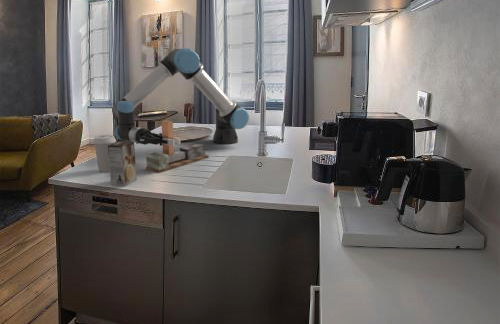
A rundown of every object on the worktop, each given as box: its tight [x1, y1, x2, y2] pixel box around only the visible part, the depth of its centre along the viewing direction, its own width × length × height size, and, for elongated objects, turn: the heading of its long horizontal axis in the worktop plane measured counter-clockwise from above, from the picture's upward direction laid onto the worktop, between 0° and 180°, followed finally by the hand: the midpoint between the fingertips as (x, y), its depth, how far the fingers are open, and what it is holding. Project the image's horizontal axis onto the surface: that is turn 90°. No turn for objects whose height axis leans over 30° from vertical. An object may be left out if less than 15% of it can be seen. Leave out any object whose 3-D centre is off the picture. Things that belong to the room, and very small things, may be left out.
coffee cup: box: [92, 134, 117, 173], centre depth 164 cm, size 10×10×15 cm
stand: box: [145, 143, 210, 174], centre depth 178 cm, size 33×9×7 cm, turn 146°
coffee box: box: [108, 140, 138, 187], centre depth 148 cm, size 9×6×16 cm
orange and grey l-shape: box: [161, 119, 187, 163], centre depth 173 cm, size 20×4×19 cm, turn 146°
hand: (176, 142), depth 167 cm, fingers closed on orange and grey l-shape, 3 cm apart
